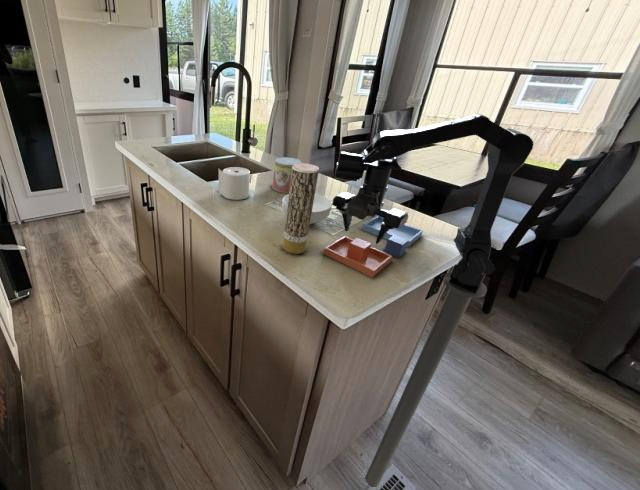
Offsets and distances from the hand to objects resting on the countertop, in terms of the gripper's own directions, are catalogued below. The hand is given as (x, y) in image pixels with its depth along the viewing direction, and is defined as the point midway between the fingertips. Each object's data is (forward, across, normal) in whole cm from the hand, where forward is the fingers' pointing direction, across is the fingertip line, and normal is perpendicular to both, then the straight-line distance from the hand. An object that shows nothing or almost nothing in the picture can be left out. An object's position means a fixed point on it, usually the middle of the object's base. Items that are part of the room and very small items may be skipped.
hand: (361, 236), depth 91 cm
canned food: (+7, -49, +28) cm, 57 cm away
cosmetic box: (+7, -15, +36) cm, 40 cm away
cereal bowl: (+7, -25, +9) cm, 27 cm away
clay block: (+6, 0, 0) cm, 6 cm away
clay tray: (+7, 0, 0) cm, 7 cm away
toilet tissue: (+7, -57, +5) cm, 58 cm away
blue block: (+7, +6, +12) cm, 15 cm away
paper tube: (+7, -15, -10) cm, 19 cm away
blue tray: (+7, 0, +24) cm, 25 cm away
